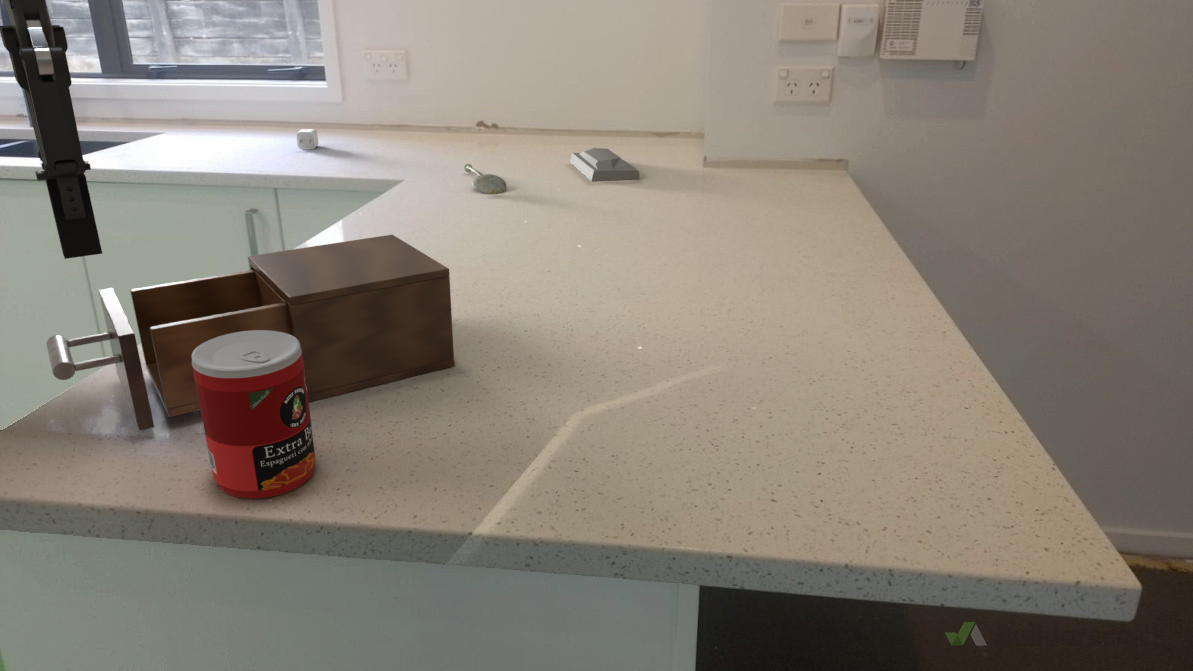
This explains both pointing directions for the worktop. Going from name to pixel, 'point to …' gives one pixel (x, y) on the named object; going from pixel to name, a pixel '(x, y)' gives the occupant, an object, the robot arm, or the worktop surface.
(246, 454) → the canned food
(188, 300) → the drawer
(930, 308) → the worktop surface
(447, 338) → the cabinet
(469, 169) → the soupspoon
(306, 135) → the usb wall charger
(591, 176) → the grey flat stepped block
